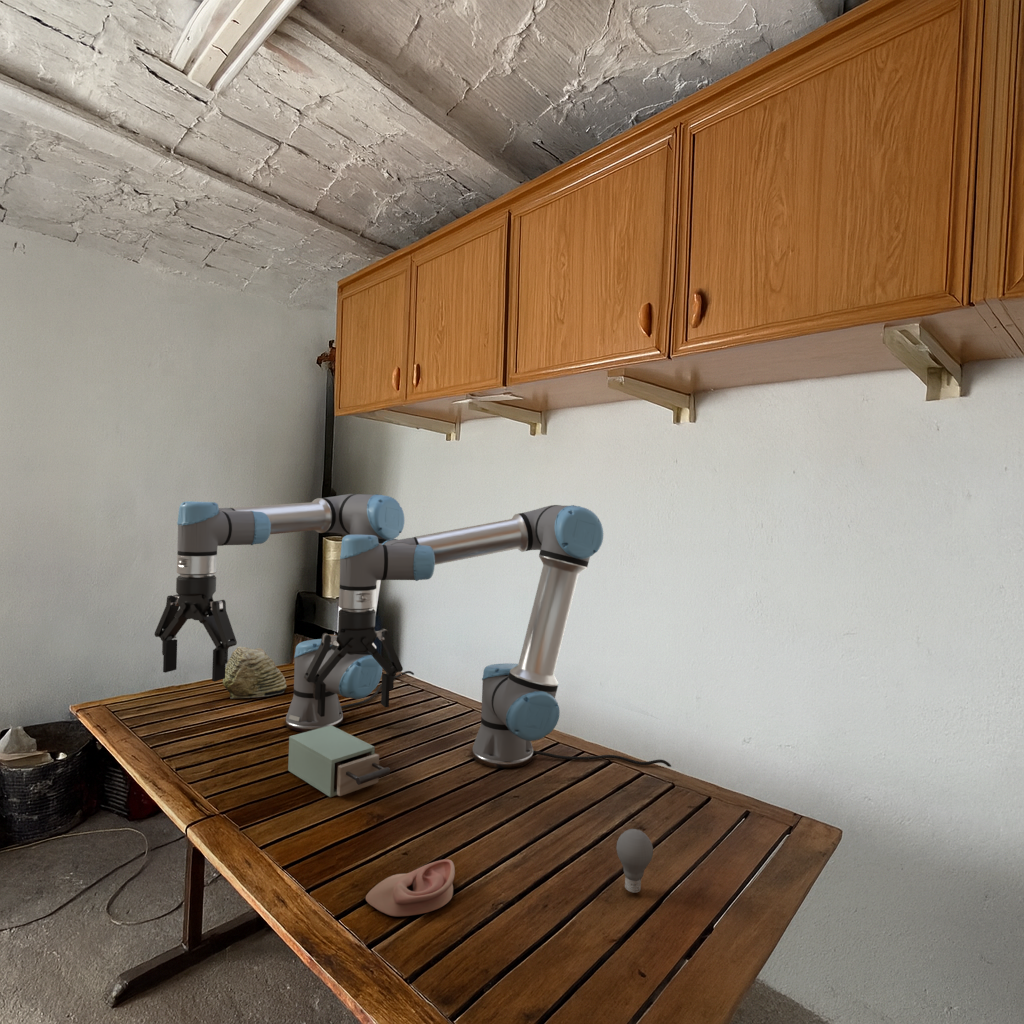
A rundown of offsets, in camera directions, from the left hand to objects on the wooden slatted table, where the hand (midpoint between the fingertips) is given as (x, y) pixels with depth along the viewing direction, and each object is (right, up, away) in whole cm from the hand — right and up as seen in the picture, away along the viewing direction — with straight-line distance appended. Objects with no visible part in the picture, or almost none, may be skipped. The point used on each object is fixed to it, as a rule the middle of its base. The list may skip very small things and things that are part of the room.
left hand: (193, 675), depth 133 cm
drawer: (+30, -25, +6) cm, 40 cm away
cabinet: (+26, -26, +10) cm, 38 cm away
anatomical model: (+51, -27, -32) cm, 66 cm away
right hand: (+34, -7, -1) cm, 35 cm away
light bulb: (+87, -29, -28) cm, 96 cm away
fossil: (-13, -23, +65) cm, 70 cm away
